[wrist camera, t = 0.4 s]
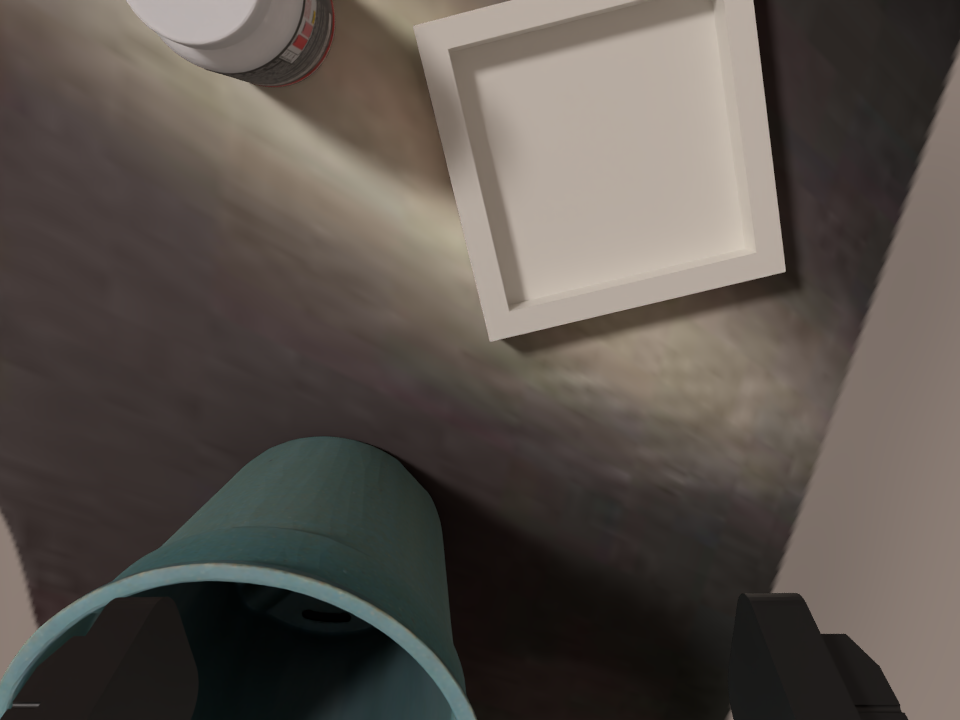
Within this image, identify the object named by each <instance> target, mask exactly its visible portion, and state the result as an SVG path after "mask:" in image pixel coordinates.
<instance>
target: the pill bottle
mask: <svg viewBox="0 0 960 720" xmlns="http://www.w3.org/2000/svg"><path fill="white" fill-rule="evenodd" d="M126 1H127V2H128V4H129V5H130V7H131V8H132V10H133V11H134V12H135V14H136V15H137V16H138V17H139V18H140V19H141V21H143V22H144V23H145V24H146V25H147V26H148V27H149V28H151V29H152V30H153V31H155V32H156V33H157V34H158V35H159V36H160V37H161V39H162V40H163V41H164V42H165V43H166V44H167V45H168V46H169V47H170V48H171V49H172V50H173V51H174V52H176V53H177V54H178V55H180V56H181V57H182V58H184V59H186V60H187V61H189V62H191V63H193V64H195V65H197V66H199V67H202V68H204V69H206V70H209V71H212V72H216V73H219V74H223V75H226V76H230V77H233V78H236V79H239V80H242V81H246V82H249V83H252V84H255V85H259V86H265V87H282V86H288V85H292V84H295V83H298V82H300V81H302V80H304V79H305V78H307V77H308V76H310V75H311V74H312V73H313V72H315V71H316V70H317V68H318V67H319V66H320V65H321V64H322V62H323V61H324V60H325V58H326V56H327V54H328V52H329V50H330V48H331V45H332V41H333V37H334V31H335V12H334V6H333V2H332V0H126Z"/></svg>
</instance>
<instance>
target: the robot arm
mask: <svg viewBox="0 0 960 720" xmlns="http://www.w3.org/2000/svg"><path fill="white" fill-rule="evenodd" d="M198 685H199V680H198V671H197V667H196V664H195V660H194V657H193V654H192V651H191V648H190V645H189V642H188V639H187V636H186V633H185V630H184V627H183V624H182V621H181V618H180V615H179V612H178V609H177V606H176V604H175V602H174V600H172V599H171V598H169V597H118V598H114V599H113V600H111V601H110V602H109V603H108V604H107V605H106V606H105V608H104V609H103V611H102V612H101V614H100V615H99V616H98V618H97V619H96V621H95V622H94V624H93V625H92V627H91V628H90V630H89V631H88V633H87V634H86V636H73V637H72V638H70V639H69V640H68V641H67V642H66V643H65V644H63V645H62V646H61V647H60V648H59V649H57V650H56V651H55V652H54V653H53V654H52V655H50V656H49V657H48V658H47V659H46V660H45V661H43V662H42V663H41V664H40V665H39V666H38V667H37V668H36V669H35V671H34V672H33V674H32V675H31V676H30V678H29V679H28V681H27V682H26V683H25V685H24V686H23V688H22V689H21V691H20V692H19V693H18V695H17V696H16V698H15V699H14V700H13V706H12V708H11V709H7V710H6V712H5V713H4V714H3V716H2V717H1V719H0V720H191V717H192V715H193V712H194V709H195V706H196V701H197V696H198ZM728 690H729V698H730V705H731V710H732V715H733V719H734V720H908V719H907V716H906V715H905V713H902V712H901V710H900V704H899V702H898V700H897V698H896V696H895V694H894V692H893V691H892V689H891V687H890V685H889V683H888V681H887V679H886V678H885V676H884V674H883V672H882V670H881V668H880V666H879V665H877V664H876V663H875V662H874V661H873V660H872V659H871V658H870V657H869V656H868V655H867V654H866V653H865V652H864V651H863V650H862V649H861V648H860V647H859V646H858V645H857V644H856V643H855V642H854V641H853V640H851V639H850V638H849V637H848V636H847V635H846V634H820V631H819V629H818V627H817V625H816V623H815V621H814V619H813V617H812V615H811V612H810V610H809V608H808V606H807V604H806V602H805V600H804V599H803V598H802V596H801V595H800V594H797V593H752V594H741V595H740V596H739V599H738V603H737V609H736V616H735V624H734V631H733V638H732V646H731V653H730V660H729V668H728Z"/></svg>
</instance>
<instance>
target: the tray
mask: <svg viewBox="0 0 960 720" xmlns="http://www.w3.org/2000/svg"><path fill="white" fill-rule="evenodd" d="M413 28H414V32H415V36H416V40H417V45H418V49H419V53H420V57H421V61H422V65H423V69H424V73H425V77H426V81H427V86H428V90H429V94H430V98H431V102H432V106H433V110H434V114H435V118H436V122H437V126H438V131H439V135H440V139H441V143H442V147H443V151H444V155H445V159H446V163H447V167H448V171H449V176H450V180H451V184H452V188H453V192H454V196H455V200H456V204H457V208H458V212H459V217H460V221H461V225H462V229H463V233H464V237H465V241H466V245H467V249H468V253H469V257H470V262H471V266H472V270H473V274H474V278H475V282H476V286H477V290H478V294H479V298H480V303H481V307H482V311H483V315H484V319H485V323H486V327H487V331H488V335H489V339H490V342H491V341H496V340H500V339H504V338H508V337H512V336H517V335H521V334H525V333H529V332H534V331H538V330H542V329H546V328H551V327H555V326H559V325H563V324H567V323H572V322H576V321H580V320H584V319H589V318H593V317H597V316H601V315H605V314H610V313H614V312H618V311H622V310H627V309H631V308H635V307H639V306H643V305H648V304H652V303H656V302H660V301H665V300H669V299H673V298H677V297H681V296H686V295H690V294H694V293H698V292H703V291H707V290H711V289H715V288H720V287H724V286H728V285H732V284H736V283H741V282H745V281H749V280H753V279H758V278H762V277H766V276H770V275H774V274H779V273H783V272H786V268H785V260H784V252H783V243H782V235H781V227H780V218H779V210H778V202H777V193H776V185H775V177H774V168H773V160H772V152H771V143H770V135H769V127H768V118H767V110H766V102H765V93H764V85H763V77H762V69H761V60H760V52H759V44H758V35H757V27H756V19H755V10H754V2H753V0H511V1H507V2H503V3H499V4H495V5H492V6H488V7H484V8H480V9H476V10H472V11H468V12H465V13H461V14H457V15H453V16H449V17H445V18H441V19H438V20H434V21H430V22H426V23H422V24H418V25H414V26H413Z"/></svg>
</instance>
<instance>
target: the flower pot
mask: <svg viewBox="0 0 960 720" xmlns="http://www.w3.org/2000/svg"><path fill="white" fill-rule="evenodd" d="M118 597H169V598H171V599H172V600H174V602H175V604H176V606H177V609H178V612H179V615H180V618H181V621H182V624H183V627H184V630H185V633H186V636H187V639H188V642H189V645H190V648H191V651H192V654H193V657H194V660H195V664H196V667H197V671H198V680H199V685H198V696H197V701H196V706H195V709H194V712H193V715H192V717H191V720H477V717H476V715H475V712H474V710H473V708H472V706H471V704H470V702H469V699H468V697H467V695H466V688H465V680H464V675H463V671H462V666H461V663H460V660H459V657H458V654H457V652H456V649H455V647H454V645H453V637H452V628H451V619H450V609H449V598H448V587H447V577H446V566H445V555H444V545H443V535H442V528H441V523H440V519H439V516H438V513H437V510H436V507H435V505H434V502H433V500H432V498H431V497H430V495H429V493H428V492H427V491H426V490H425V489H424V488H423V487H422V486H421V485H420V484H419V483H418V482H417V480H416V479H415V478H414V477H413V476H412V475H411V474H410V473H409V472H408V471H407V470H406V468H405V467H404V466H403V465H402V464H401V463H400V462H399V461H398V460H397V459H395V458H394V457H392V456H391V455H389V454H387V453H386V452H384V451H382V450H380V449H378V448H375V447H373V446H371V445H368V444H365V443H362V442H359V441H355V440H350V439H346V438H338V437H308V438H301V439H296V440H292V441H288V442H285V443H283V444H280V445H277V446H275V447H272V448H270V449H268V450H267V451H265V452H264V453H262V454H261V455H259V456H258V457H256V458H255V459H253V460H252V461H250V462H249V463H248V464H247V465H245V466H244V467H243V468H242V469H241V470H240V471H239V472H238V473H237V474H236V475H235V476H234V477H233V478H232V479H231V480H230V481H229V482H228V483H227V484H226V485H225V486H224V487H223V488H222V489H220V490H219V491H218V492H217V493H216V494H215V495H214V496H213V497H212V498H211V499H210V500H209V501H208V502H207V503H206V504H205V505H204V506H203V507H202V508H201V509H200V510H199V511H198V512H197V513H196V514H194V515H193V516H192V517H191V518H190V519H189V520H188V521H187V522H186V523H185V524H184V525H183V526H182V527H181V528H180V529H179V530H178V531H177V532H176V533H175V534H174V535H173V536H172V537H171V538H170V539H168V540H167V541H166V542H165V543H164V544H163V545H162V546H161V547H160V548H159V549H157V550H155V551H153V552H151V553H149V554H148V555H146V556H144V557H143V558H141V559H139V560H138V561H136V562H135V563H134V564H132V565H131V566H130V567H128V568H127V569H126V570H125V571H124V572H122V573H121V574H120V575H119V576H118V577H117V578H116V579H114V580H113V581H112V582H110V583H107V584H105V585H103V586H101V587H99V588H97V589H95V590H93V591H91V592H90V593H88V594H86V595H84V596H83V597H81V598H79V599H78V600H76V601H75V602H73V603H72V604H70V605H69V606H67V607H66V608H64V609H63V610H61V611H60V612H59V613H57V614H56V615H55V616H53V617H52V618H51V619H49V620H48V621H47V622H46V623H45V624H43V625H42V626H41V627H40V628H39V629H38V630H37V631H36V632H35V633H34V634H33V635H32V636H31V637H30V638H29V639H28V640H27V641H26V642H25V644H24V645H23V646H22V648H21V649H20V651H19V652H18V653H17V655H16V657H15V658H14V659H13V660H12V662H11V663H10V665H9V667H8V668H7V670H6V672H5V674H4V676H3V678H2V679H1V681H0V719H1V717H2V716H3V714H4V713H5V712H6V710H7V709H11V708H12V706H13V700H14V699H15V698H16V696H17V695H18V693H19V692H20V691H21V689H22V688H23V686H24V685H25V683H26V682H27V681H28V679H29V678H30V676H31V675H32V674H33V672H34V671H35V669H36V668H37V667H38V666H39V665H40V664H41V663H42V662H43V661H45V660H46V659H47V658H48V657H49V656H50V655H52V654H53V653H54V652H55V651H56V650H57V649H59V648H60V647H61V646H62V645H63V644H65V643H66V642H67V641H68V640H69V639H70V638H72V637H73V636H86V634H87V633H88V631H89V630H90V628H91V627H92V625H93V624H94V622H95V621H96V619H97V618H98V616H99V615H100V614H101V612H102V611H103V609H104V608H105V606H106V605H107V604H108V603H109V602H110V601H111V600H113V599H114V598H118ZM308 609H309V610H312V611H316V612H324V613H343V612H345V613H348V614H349V615H350V616H351V620H350V621H349V622H335V623H334V622H321V621H314V620H309V619H305V618H304V617H303V616H302V612H303V611H305V610H308Z"/></svg>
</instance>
